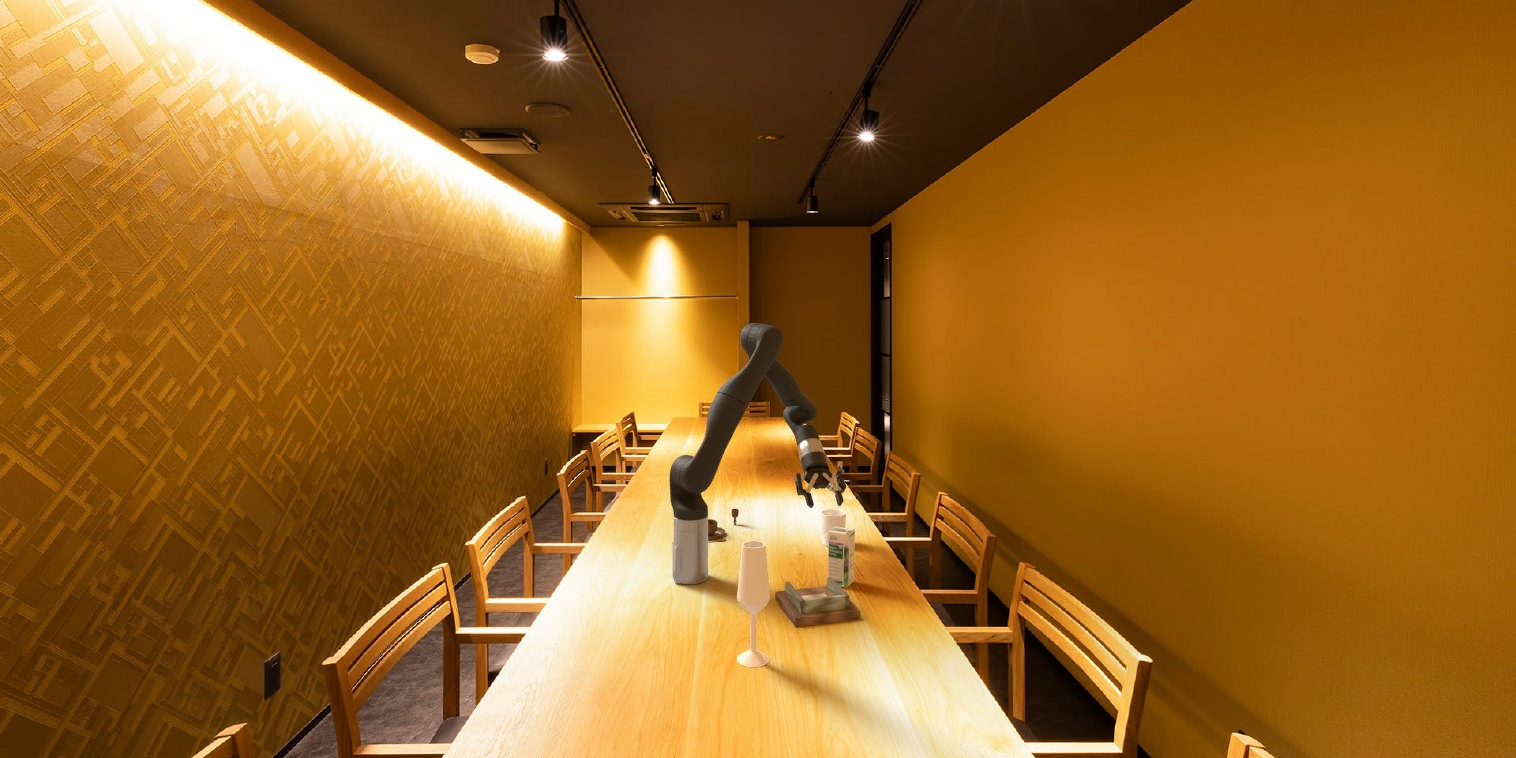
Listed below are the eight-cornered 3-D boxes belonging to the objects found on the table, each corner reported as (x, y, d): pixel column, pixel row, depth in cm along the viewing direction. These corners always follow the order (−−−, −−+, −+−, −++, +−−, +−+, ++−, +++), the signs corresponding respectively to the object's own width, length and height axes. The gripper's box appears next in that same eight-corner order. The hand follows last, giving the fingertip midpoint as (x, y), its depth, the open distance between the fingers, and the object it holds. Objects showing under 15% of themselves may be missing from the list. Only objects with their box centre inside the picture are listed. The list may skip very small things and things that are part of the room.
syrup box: (826, 584, 178) (827, 531, 177) (834, 577, 183) (835, 525, 182) (846, 588, 176) (847, 534, 174) (854, 581, 181) (855, 528, 180)
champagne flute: (768, 650, 142) (769, 539, 140) (770, 667, 135) (771, 549, 133) (736, 651, 141) (737, 539, 140) (736, 667, 135) (737, 549, 133)
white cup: (845, 540, 215) (845, 509, 215) (846, 548, 208) (846, 516, 207) (820, 539, 216) (820, 508, 215) (820, 547, 208) (820, 515, 208)
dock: (795, 626, 153) (795, 605, 153) (775, 599, 168) (775, 579, 168) (860, 619, 157) (860, 598, 157) (835, 592, 173) (835, 573, 172)
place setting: (681, 530, 226) (681, 513, 226) (736, 524, 234) (736, 507, 234) (697, 546, 210) (697, 528, 210) (756, 539, 218) (756, 521, 218)
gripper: (792, 451, 194) (805, 500, 184) (838, 449, 198) (853, 497, 188) (786, 465, 200) (799, 514, 190) (831, 463, 204) (846, 510, 194)
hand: (826, 505), depth 189 cm, fingers open, 8 cm apart
